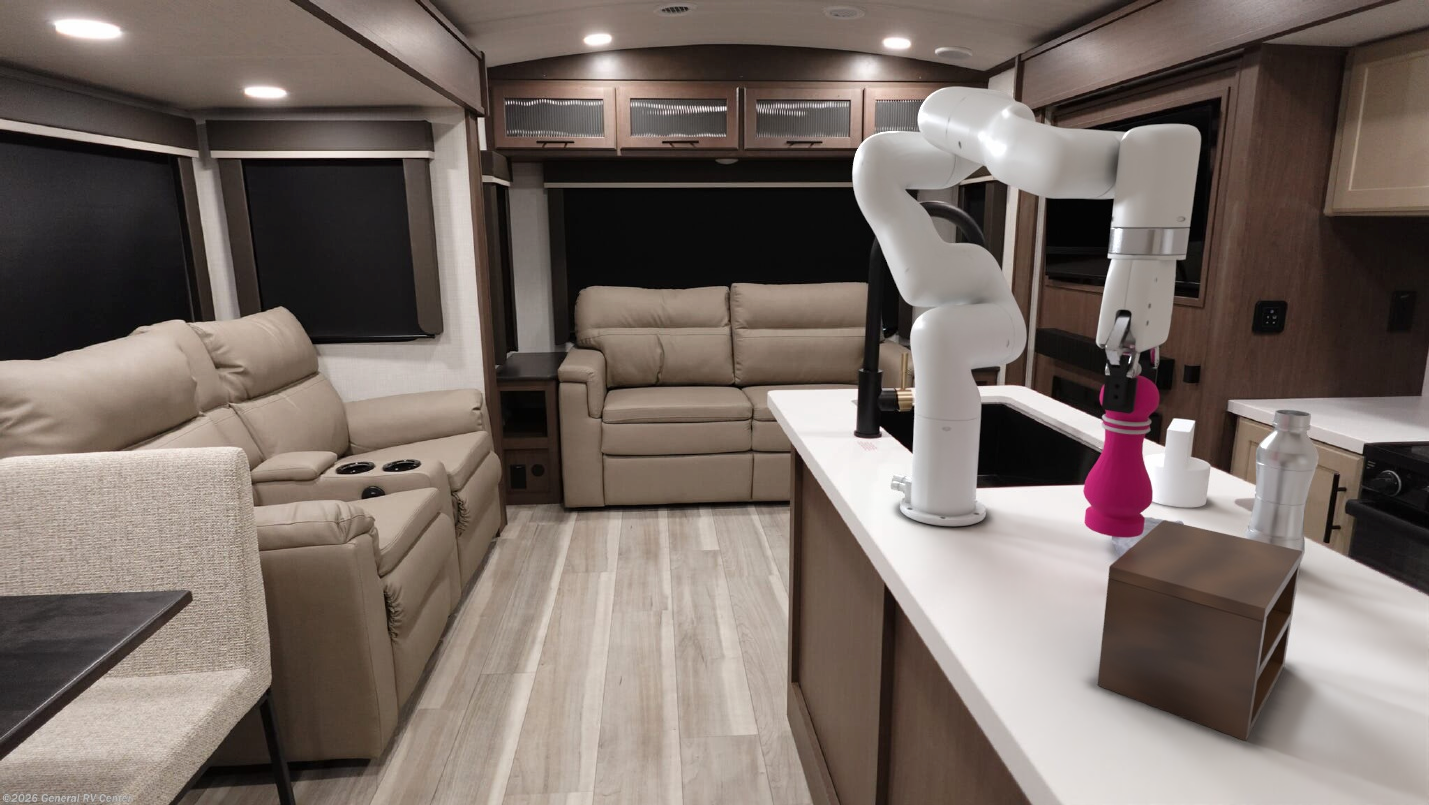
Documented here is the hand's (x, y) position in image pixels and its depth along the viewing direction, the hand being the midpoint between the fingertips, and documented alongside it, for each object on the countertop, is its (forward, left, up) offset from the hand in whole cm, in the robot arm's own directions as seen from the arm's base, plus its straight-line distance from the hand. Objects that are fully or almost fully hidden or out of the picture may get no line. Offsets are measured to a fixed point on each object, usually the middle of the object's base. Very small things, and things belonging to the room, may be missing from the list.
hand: (1128, 404), depth 89 cm
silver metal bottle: (+12, +21, -23) cm, 33 cm away
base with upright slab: (-4, +41, -23) cm, 47 cm away
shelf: (+12, -14, -23) cm, 29 cm away
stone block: (0, +14, -23) cm, 27 cm away
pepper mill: (0, 0, -15) cm, 15 cm away
